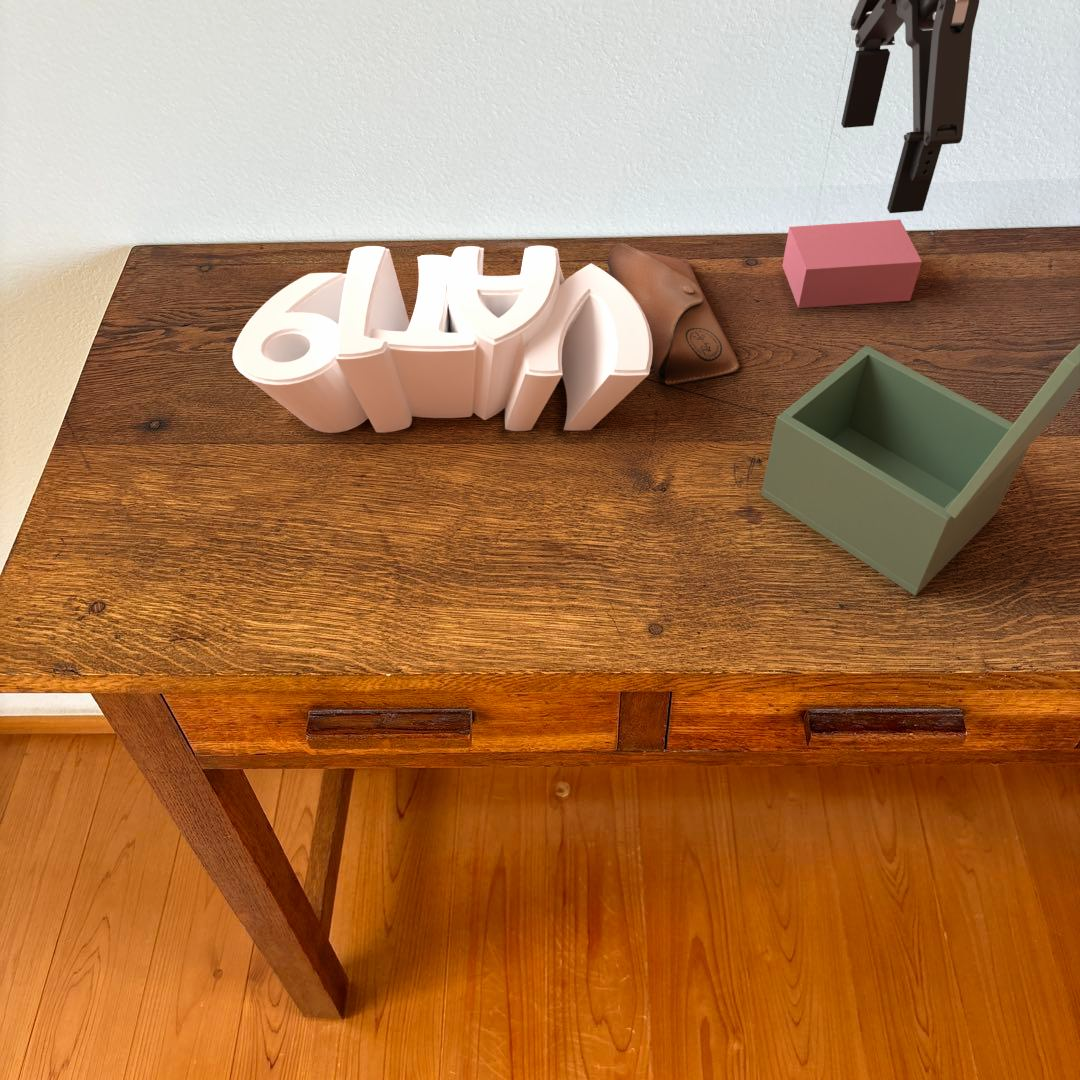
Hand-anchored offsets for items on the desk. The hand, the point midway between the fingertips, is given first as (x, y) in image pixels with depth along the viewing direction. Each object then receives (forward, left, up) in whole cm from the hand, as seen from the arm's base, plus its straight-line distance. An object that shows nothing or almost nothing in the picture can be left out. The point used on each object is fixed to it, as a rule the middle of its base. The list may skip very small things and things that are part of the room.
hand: (879, 165), depth 87 cm
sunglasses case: (+17, 0, -15) cm, 23 cm away
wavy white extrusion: (+38, +8, -15) cm, 42 cm away
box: (+4, +25, -15) cm, 30 cm away
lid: (-1, +32, +2) cm, 32 cm away
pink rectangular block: (-1, -4, -15) cm, 15 cm away
